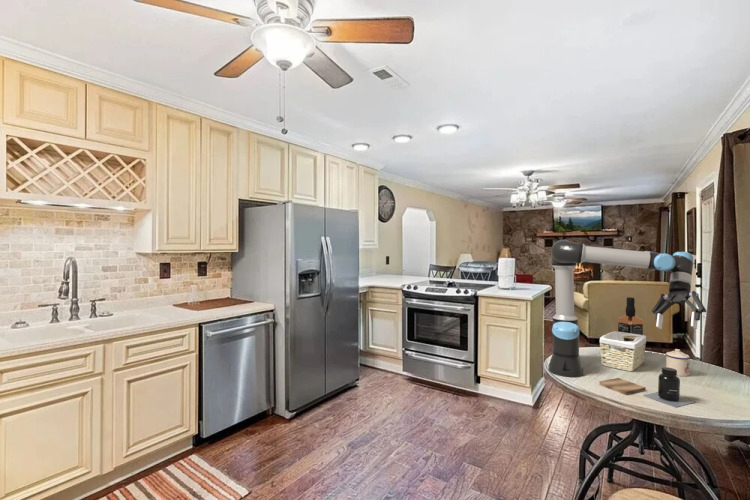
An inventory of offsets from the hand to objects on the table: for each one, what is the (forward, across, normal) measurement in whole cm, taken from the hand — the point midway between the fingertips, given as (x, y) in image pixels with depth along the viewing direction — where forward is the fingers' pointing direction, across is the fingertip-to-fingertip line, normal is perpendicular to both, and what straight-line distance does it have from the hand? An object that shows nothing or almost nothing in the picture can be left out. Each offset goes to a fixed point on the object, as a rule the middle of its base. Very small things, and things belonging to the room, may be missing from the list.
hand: (675, 327), depth 160 cm
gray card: (+31, 0, 0) cm, 31 cm away
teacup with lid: (+9, +17, -31) cm, 37 cm away
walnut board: (+31, +15, +6) cm, 35 cm away
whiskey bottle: (-1, +45, -36) cm, 58 cm away
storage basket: (+12, +35, -19) cm, 41 cm away
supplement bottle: (+31, 0, 0) cm, 31 cm away
